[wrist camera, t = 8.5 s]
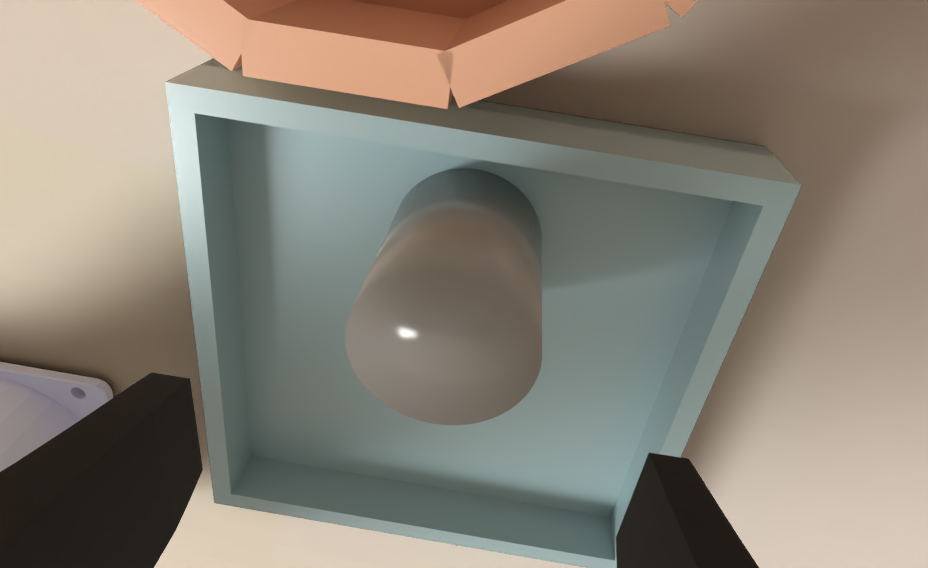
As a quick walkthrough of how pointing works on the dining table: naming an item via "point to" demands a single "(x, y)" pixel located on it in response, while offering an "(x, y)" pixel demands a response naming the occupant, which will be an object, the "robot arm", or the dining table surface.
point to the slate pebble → (453, 302)
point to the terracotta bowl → (410, 41)
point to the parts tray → (563, 306)
